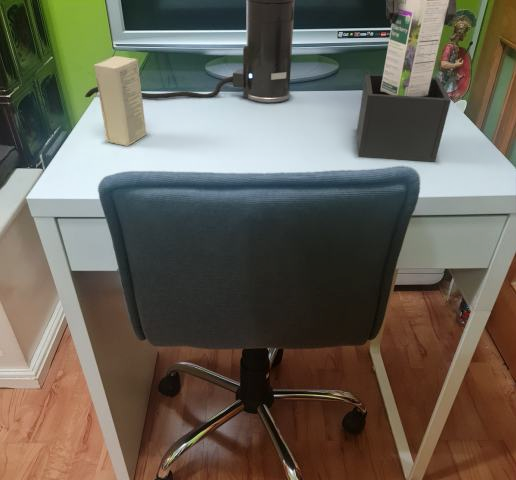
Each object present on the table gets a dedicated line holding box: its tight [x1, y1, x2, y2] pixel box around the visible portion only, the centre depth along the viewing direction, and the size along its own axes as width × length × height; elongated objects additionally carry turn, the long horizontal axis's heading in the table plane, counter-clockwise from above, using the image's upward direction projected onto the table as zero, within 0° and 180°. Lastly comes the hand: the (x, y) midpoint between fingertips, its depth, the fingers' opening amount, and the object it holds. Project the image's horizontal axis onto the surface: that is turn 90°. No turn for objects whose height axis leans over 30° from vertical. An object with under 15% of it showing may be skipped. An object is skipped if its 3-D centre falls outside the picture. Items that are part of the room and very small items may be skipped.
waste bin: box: [356, 73, 452, 163], centre depth 86 cm, size 13×13×10 cm
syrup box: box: [381, 0, 449, 97], centre depth 79 cm, size 6×6×14 cm
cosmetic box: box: [93, 55, 147, 147], centre depth 84 cm, size 6×4×12 cm
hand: (421, 20), depth 75 cm, fingers closed on syrup box, 7 cm apart
